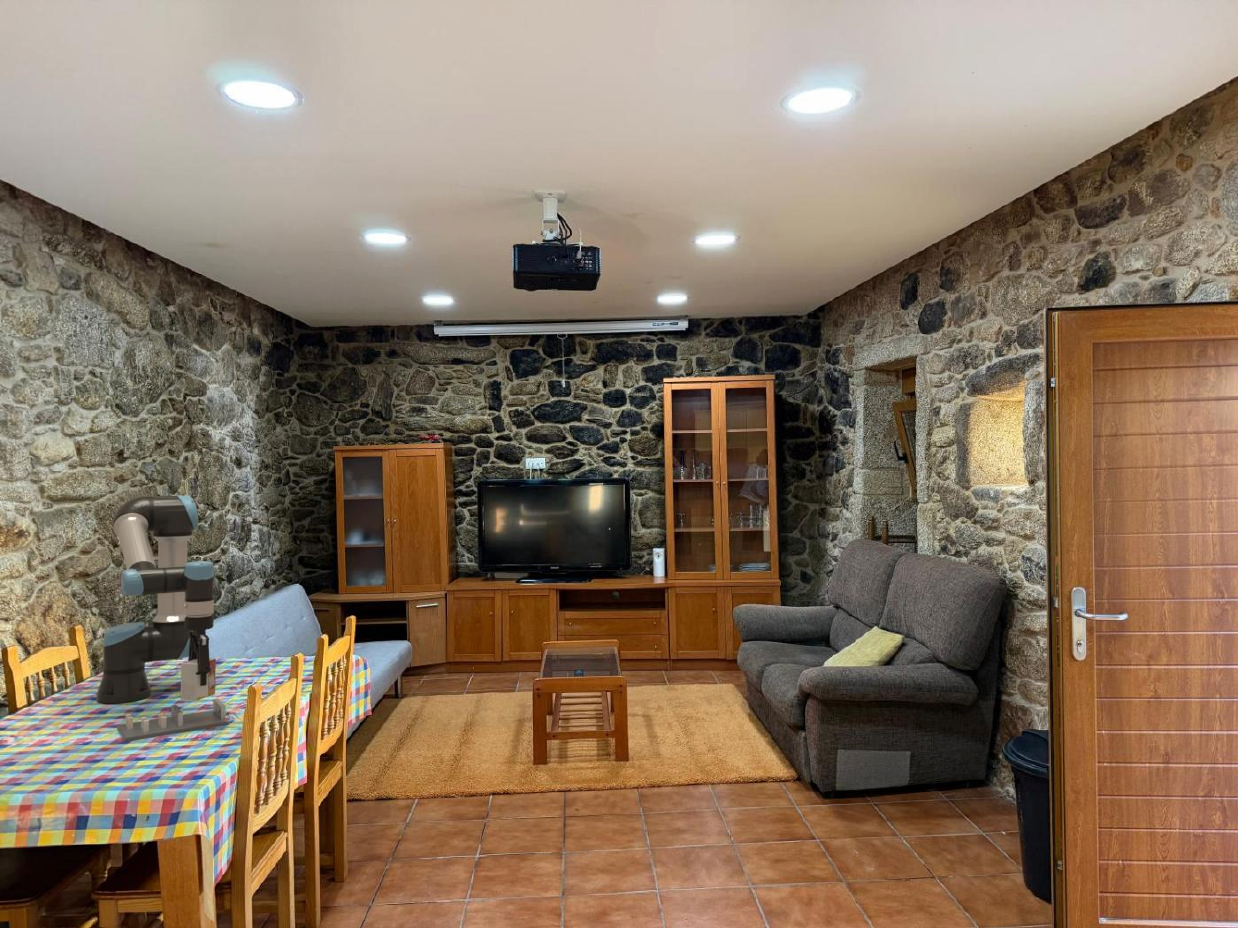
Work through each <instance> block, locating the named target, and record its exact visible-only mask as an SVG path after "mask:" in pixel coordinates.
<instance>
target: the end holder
mask: <svg viewBox="0 0 1238 928" xmlns="http://www.w3.org/2000/svg"><path fill="white" fill-rule="evenodd" d="M212 700H213V701H212V705H213V706H212V708H213V709H212V710H213V713H214V714H215V715H216V716H217V717H218V718H219V719H220V720H221V721H222V720H226V719H227V718H226V714H227V712H226V709H227V708H226V704H225V703H224V702H222V701H221V700H220V699H219V698H214V699H212ZM170 707H171V711H170V712H171V713H170V715H171V716H170V717H171V720H172V721H173V722H174V723H175V724H176V726H177V727H183V715H184V712H183V711H182V710H181V709H180V707H178V705H177V704H174V705H171V706H170Z"/></svg>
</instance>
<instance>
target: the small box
mask: <svg viewBox="0 0 1238 928" xmlns="http://www.w3.org/2000/svg"><path fill="white" fill-rule="evenodd" d="M209 660H210V672H208V696H206V697H199V698H197V675H196V674H195V673H196V672H198V664H197V659H195V660H192V661H189V662H188V661H185V662H181V663H180V700H181V701H196V702H197V701H199V700H203V699H205V698H209V697H211V696H213V695H215V694H216V672H217V671H216V670H217V669H216V667H217V666H216V665H217V663H216V662H217V661H216V660H217V659H216V658H213V657H209ZM203 669H205V668H203Z"/></svg>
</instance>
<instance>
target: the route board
mask: <svg viewBox="0 0 1238 928" xmlns="http://www.w3.org/2000/svg"><path fill="white" fill-rule="evenodd" d="M222 726H229V720H228V719H227V718H226V720H222V721H221V720H220V719H219V718H218V717H217V716H216V715H215V714H214V713H213V709H212V710H207V711H201V712H195V713H192V712H191V713H187V714H183V727H177V726H176V724H175V723H174V722H173V721H172V720H171V716H168V717H167V716H165V714H164V712H163V713H158V718H155V719H147V716H142V717H141V718H140V721H136V722H134V717H133V716H132V714H131V713H128V714H125V723H122V724H117V725H116V730H117V731H118V733H119V735H120V736H121V738H122V739H123V742H132V741H137V740H145V739H149V738H156V737H162V736H169V735H174V734H180V733H186V732H192V731H198V730H204V729H209V728H216V727H217V728H218V727H222Z"/></svg>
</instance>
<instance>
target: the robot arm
mask: <svg viewBox="0 0 1238 928" xmlns="http://www.w3.org/2000/svg"><path fill="white" fill-rule="evenodd" d="M112 527H113V532H114V534H115V535H116V536H117V537H118V538H119V542H120V546H121V552H122V556H123V559H124V560H123V561H124V565H125V568H126V569H124V570H123V571H121V574H120V575H121V576H120V577H121V578H120V587H121V589H120V590H121V592H122V593H121V594H123V595H124V596H136V597H137V596H139V597H140V596H145V595H157V614H156V615H155V617H154V618H152V625H147V624H146V623H145V622H144V621H136V622H133V621H132V622H127V623H123V624H119V625H115V626H112V627H110V628H108V629H106V631H105V632H104V633H103V642H102V646H103V656H102V657H103V660H102V661H103V664H102V665H103V666H102V667H103V669H102V670H103V671H102V678H101V680H100V684H99V687H98V688H97V692H96V702H98V703H100V704H101V703H102V704H121V703H122V704H123V703H130V702H136V701H141V700H144V699H146V698H149V697H150V696H151V695H152V691H151V690H152V688H151V684H150V682H149V679H148V676H147V673H146V669H145V668H146V666H145V665H146V663H154V662H160V661H161V662H162V661H171V660H175V661H176V660H179V659H186V658H188V659H187V660H188V661H187V662H189V661H192V660H195V659H197V664H198V672H196V673H195V674H196V675H197V698H199V697H205V698H207V697H206V696H208V672H210V660H209V658H210V646H209V644H210V637H209V636H208V635H207V634H206V633H207V632H206V631H207V630H210V629H213V627H214V615H213V614H214V610H215V609H214V608H215V603H214V602H215V600H214V591H215V590H214V587H215V586H214V583H215V582H214V580H215V579H214V577H215V570H214V563H213V562H212V561H206V560H200V561H190V562H188V541H189V540H190V539H191V538H192V537H193V532H194V531H197V530H198V528H199V516H198V510H197V504H196V502H195V501H194V499H193V497H192V496H189V495H188V496H187V495H151V496H147V495H141V496H137V497H133V498H131V499H129V500H128V501H126V502H124V503H123V504H122V505H121V506H120V507H119V508H118V509H117V510H116V512H115V514H114V515H113V519H112ZM147 532H148V533H150V532H151V533H152V537H153V538H154V539H155V540H156V541H157V545H158V547H157V549H158V551H157V552H158V553H157V554H158V556H157V564H158V565H156V561H155V560H154V555H153V552H152V547H151V544H150V540H149V537H148V536H149V535H148V533H147ZM203 668H205V669H203ZM208 697H209V696H208Z"/></svg>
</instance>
